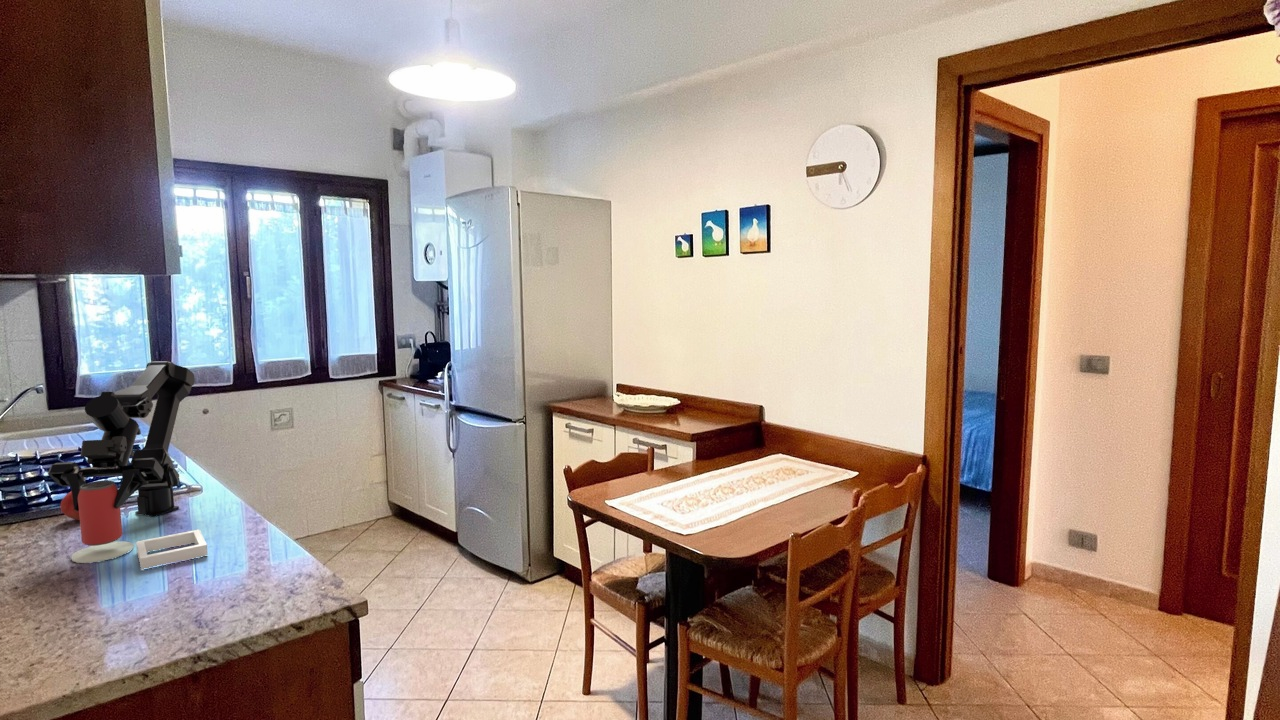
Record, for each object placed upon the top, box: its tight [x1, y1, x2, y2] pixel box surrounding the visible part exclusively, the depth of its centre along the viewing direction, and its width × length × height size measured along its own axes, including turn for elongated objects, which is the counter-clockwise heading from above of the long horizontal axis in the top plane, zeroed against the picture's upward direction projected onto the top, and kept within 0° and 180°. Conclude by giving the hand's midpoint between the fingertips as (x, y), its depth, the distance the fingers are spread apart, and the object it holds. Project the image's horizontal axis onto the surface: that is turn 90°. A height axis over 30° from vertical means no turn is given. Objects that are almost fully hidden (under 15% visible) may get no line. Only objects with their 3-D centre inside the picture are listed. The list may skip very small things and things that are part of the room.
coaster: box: [71, 540, 134, 564], centre depth 139 cm, size 10×10×1 cm
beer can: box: [78, 479, 124, 547], centre depth 138 cm, size 7×7×12 cm
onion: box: [59, 490, 80, 521], centre depth 158 cm, size 6×6×8 cm
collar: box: [135, 529, 209, 570], centre depth 138 cm, size 11×11×2 cm
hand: (96, 509), depth 137 cm, fingers closed on beer can, 6 cm apart
